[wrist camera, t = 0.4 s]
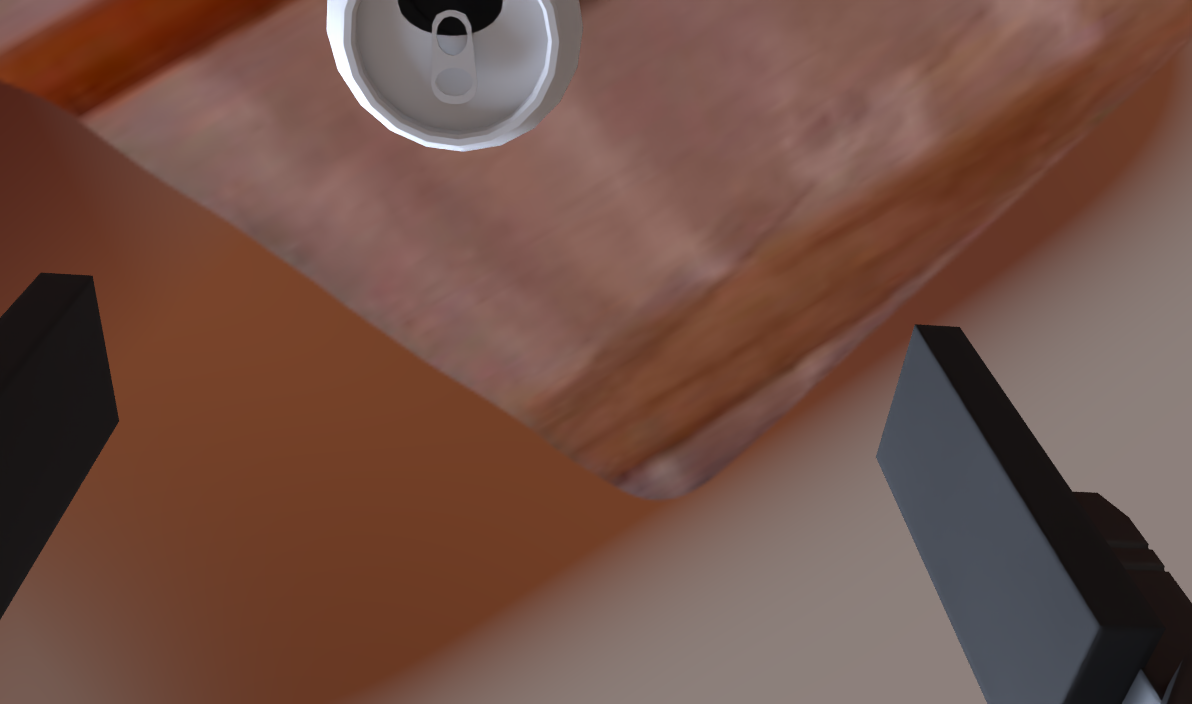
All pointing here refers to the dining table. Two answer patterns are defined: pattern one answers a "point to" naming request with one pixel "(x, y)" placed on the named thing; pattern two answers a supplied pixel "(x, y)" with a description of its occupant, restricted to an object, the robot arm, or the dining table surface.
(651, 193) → the dining table surface
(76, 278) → the robot arm
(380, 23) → the can
